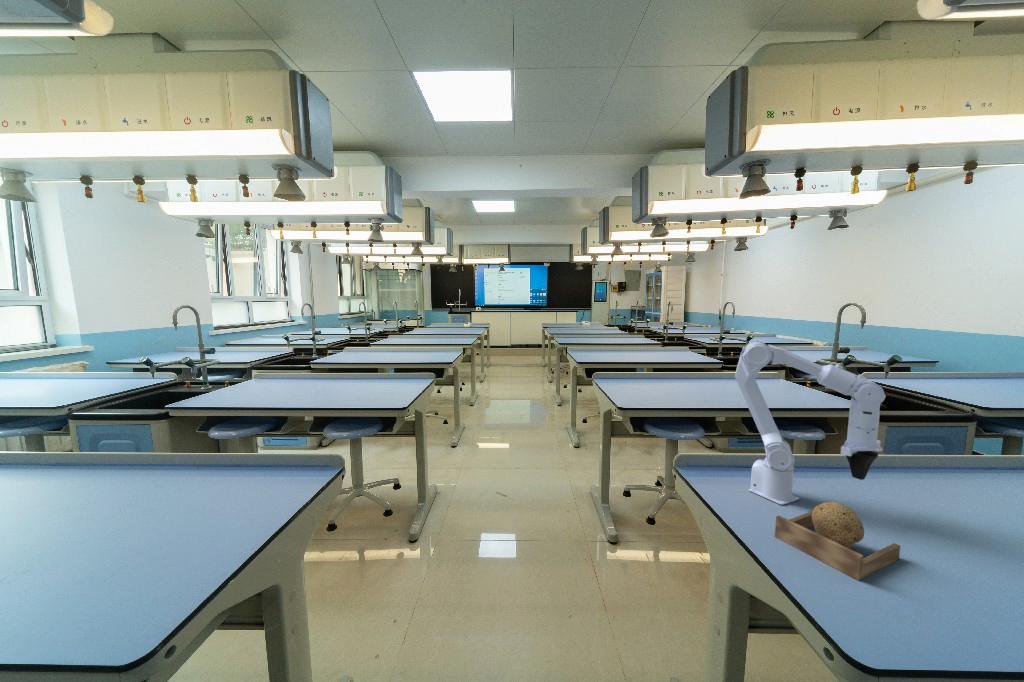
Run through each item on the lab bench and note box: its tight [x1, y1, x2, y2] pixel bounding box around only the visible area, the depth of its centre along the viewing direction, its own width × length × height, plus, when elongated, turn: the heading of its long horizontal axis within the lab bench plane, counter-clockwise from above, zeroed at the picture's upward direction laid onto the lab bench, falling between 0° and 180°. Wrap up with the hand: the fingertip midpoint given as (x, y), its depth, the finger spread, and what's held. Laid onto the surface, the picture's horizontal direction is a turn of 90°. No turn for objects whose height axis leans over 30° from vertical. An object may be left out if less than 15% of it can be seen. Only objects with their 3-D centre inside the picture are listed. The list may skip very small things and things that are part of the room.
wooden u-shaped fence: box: [774, 510, 901, 582], centre depth 87 cm, size 16×16×5 cm
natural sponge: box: [812, 501, 865, 549], centre depth 87 cm, size 9×9×10 cm
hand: (858, 478), depth 101 cm, fingers closed
